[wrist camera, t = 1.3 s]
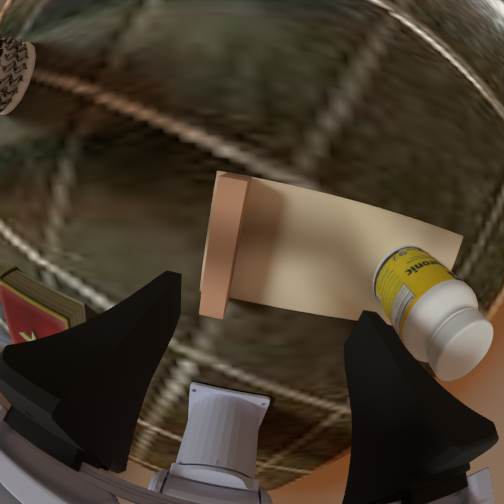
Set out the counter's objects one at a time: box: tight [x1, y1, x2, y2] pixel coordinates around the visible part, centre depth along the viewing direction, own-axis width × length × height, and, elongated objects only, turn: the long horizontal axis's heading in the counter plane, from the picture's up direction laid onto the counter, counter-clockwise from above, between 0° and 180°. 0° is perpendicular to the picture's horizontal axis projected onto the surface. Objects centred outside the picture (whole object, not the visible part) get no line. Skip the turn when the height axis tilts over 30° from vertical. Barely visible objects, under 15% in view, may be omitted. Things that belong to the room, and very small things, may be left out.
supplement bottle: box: [373, 245, 493, 381], centre depth 14 cm, size 5×5×10 cm
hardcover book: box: [0, 266, 86, 344], centre depth 24 cm, size 12×21×4 cm, turn 165°
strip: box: [199, 171, 463, 325], centre depth 18 cm, size 9×20×3 cm, turn 79°
